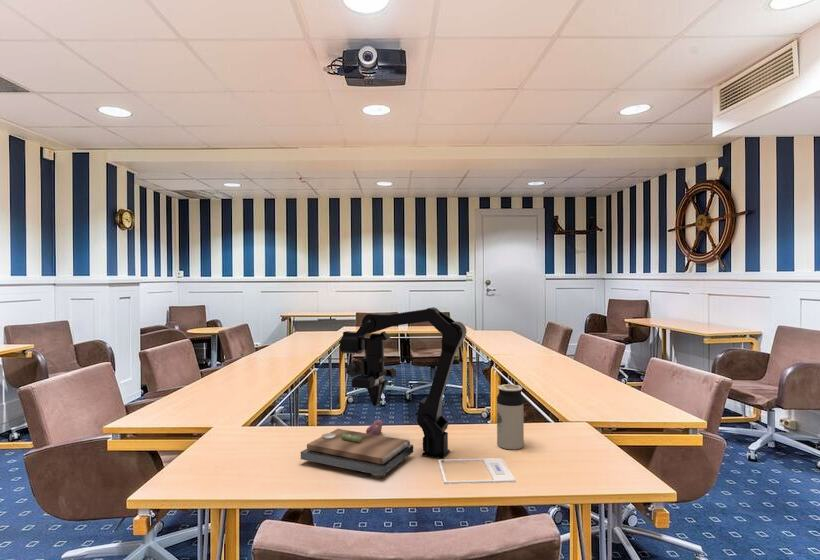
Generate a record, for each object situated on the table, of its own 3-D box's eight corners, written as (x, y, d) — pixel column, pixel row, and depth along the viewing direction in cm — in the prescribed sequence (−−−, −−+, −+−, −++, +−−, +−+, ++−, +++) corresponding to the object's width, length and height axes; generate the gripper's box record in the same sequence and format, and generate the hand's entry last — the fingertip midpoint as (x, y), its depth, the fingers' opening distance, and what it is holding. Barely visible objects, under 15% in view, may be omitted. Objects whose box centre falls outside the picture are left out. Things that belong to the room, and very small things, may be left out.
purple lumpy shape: (374, 448, 143) (384, 428, 143) (361, 442, 143) (371, 422, 143) (377, 438, 153) (386, 419, 153) (365, 432, 153) (374, 413, 153)
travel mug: (521, 441, 145) (521, 384, 145) (525, 450, 137) (525, 390, 137) (496, 440, 145) (495, 383, 145) (498, 449, 137) (497, 389, 138)
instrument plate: (410, 445, 131) (410, 434, 131) (384, 464, 117) (384, 451, 117) (337, 433, 142) (337, 422, 142) (306, 449, 128) (306, 437, 128)
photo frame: (515, 479, 115) (444, 481, 114) (515, 484, 115) (444, 485, 114) (501, 457, 130) (437, 458, 129) (501, 461, 130) (437, 462, 129)
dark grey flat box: (413, 457, 132) (413, 444, 132) (382, 481, 116) (382, 467, 116) (338, 443, 143) (337, 432, 143) (300, 464, 127) (300, 451, 127)
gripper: (366, 349, 152) (366, 396, 152) (335, 357, 135) (335, 411, 135) (396, 350, 148) (397, 399, 147) (368, 359, 130) (369, 414, 130)
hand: (375, 405), depth 140 cm, fingers closed
